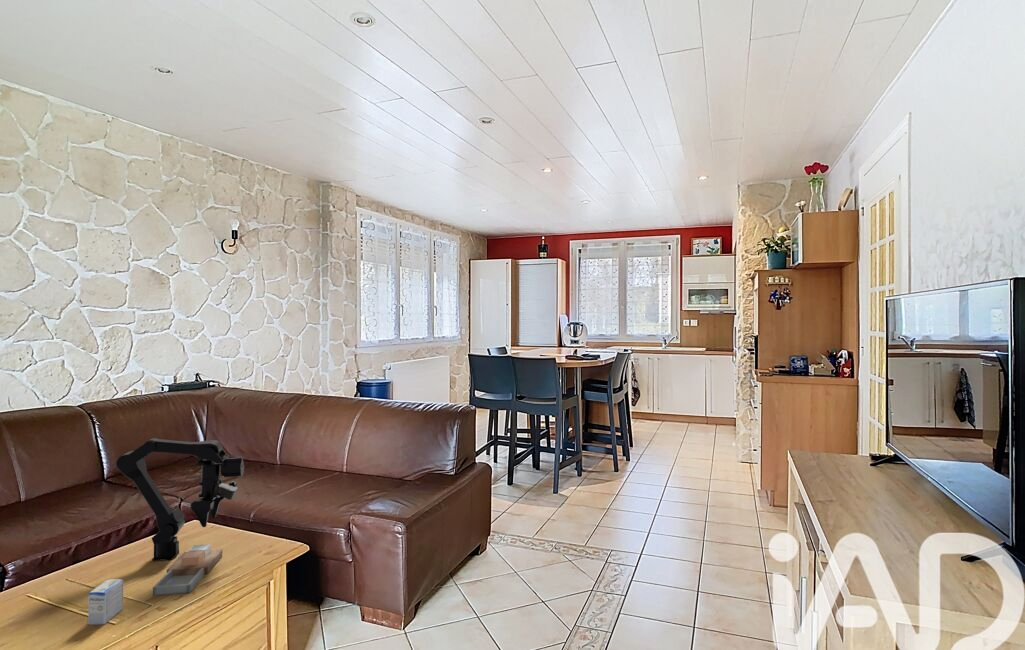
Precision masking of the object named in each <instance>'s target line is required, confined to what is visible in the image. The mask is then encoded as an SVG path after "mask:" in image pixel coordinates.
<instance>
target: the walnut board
mask: <svg viewBox="0 0 1025 650" xmlns="http://www.w3.org/2000/svg"><path fill="white" fill-rule="evenodd" d="M187 552H188V551H183V552H182V554H180V556H179V557H177V559H176V560H175V561H174V562H173V563H172V564H171V565H170V566H168V568H167V569H166V573H167V572H168V571H169V570H173V576H185V575H196V574H197V573H198V572H199V570H200V569H201V568H204V576H208V575H209V574H210V573H211V571H212V570H213V569H214V568H215V567H216V565H217V564H218V563H219V562H220V561H221V559H222V558H223V549H213V550H212V549H210V552H209V554H208V555H207V556H206V557H205V558H204V559H203V560H202V562H201V563H200V564H199V565H189V566H182V557H183V556H184V555H185V554H186V553H187Z"/></svg>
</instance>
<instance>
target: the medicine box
mask: <svg viewBox="0 0 1025 650" xmlns="http://www.w3.org/2000/svg"><path fill="white" fill-rule="evenodd" d="M123 609H124V579H118V578H117V579H114V578H113V579H106V580H105V581H103V582H102V583H100V584H98V586H97V587H95V588H94V589H93V590H91V591H90V592H88V613H87V614H88V617H87V618H88V621H87V622H88V625H91V626H92V625H93V626H94V625H106V624H107V623H108V622H109V621H110V620H112V619H113V618H114V617H115V616H116V615H117V614H118V613H120V612H121V611H122V610H123Z"/></svg>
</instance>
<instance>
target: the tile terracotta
mask: <svg viewBox="0 0 1025 650" xmlns="http://www.w3.org/2000/svg"><path fill="white" fill-rule="evenodd" d="M186 552H187V553H186V554H185V555H184V556H183V557H182V566H189V565H199V564H200V563H201V562H202V560H203V559H204V551H194V552H189V551H186Z"/></svg>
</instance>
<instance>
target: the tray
mask: <svg viewBox="0 0 1025 650" xmlns="http://www.w3.org/2000/svg"><path fill="white" fill-rule="evenodd" d="M165 573H166V574H165V575H164V576H163V577H161V579H160V580H158V582H156V583H155V584H154V586H152V596H165V595H179V594H181V595H182V594H190V593H191V592H192V591H193V590H194V588H195V587H196V586H197V585H198V584H199V582H200V581H201V580H202V579H203V578H204V576H205V575H204V568H201V569H200V570H199V572H198V573H197V574H196V575H185V576H173V570H169V571H168V572H167V571H166V572H165Z"/></svg>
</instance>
